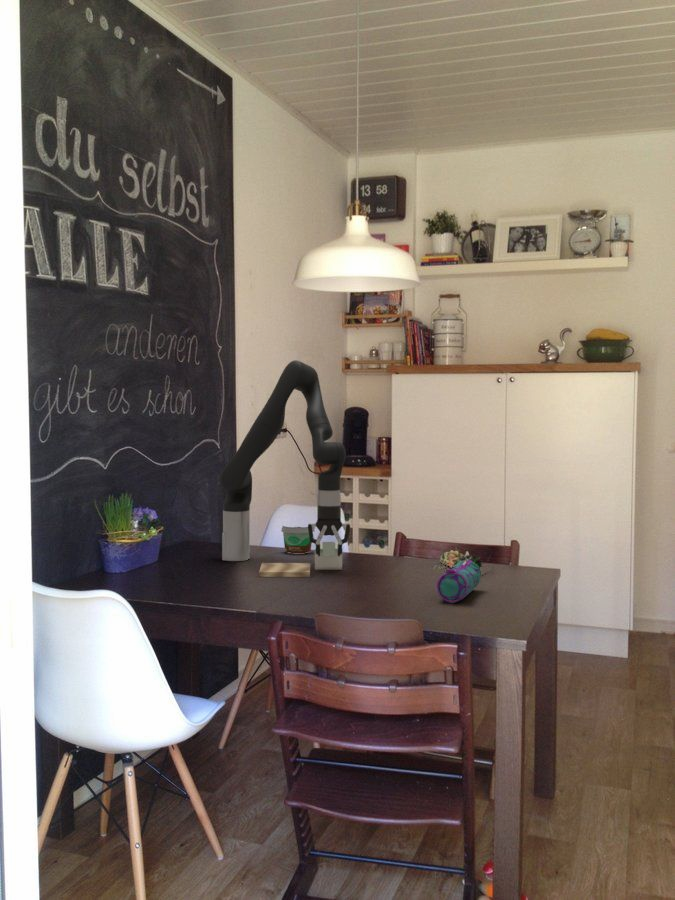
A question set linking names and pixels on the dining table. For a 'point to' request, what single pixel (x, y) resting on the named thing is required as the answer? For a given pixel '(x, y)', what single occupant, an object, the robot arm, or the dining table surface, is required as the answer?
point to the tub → (328, 562)
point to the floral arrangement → (456, 558)
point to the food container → (296, 539)
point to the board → (284, 570)
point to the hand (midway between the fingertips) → (328, 555)
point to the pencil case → (458, 581)
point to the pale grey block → (328, 548)
